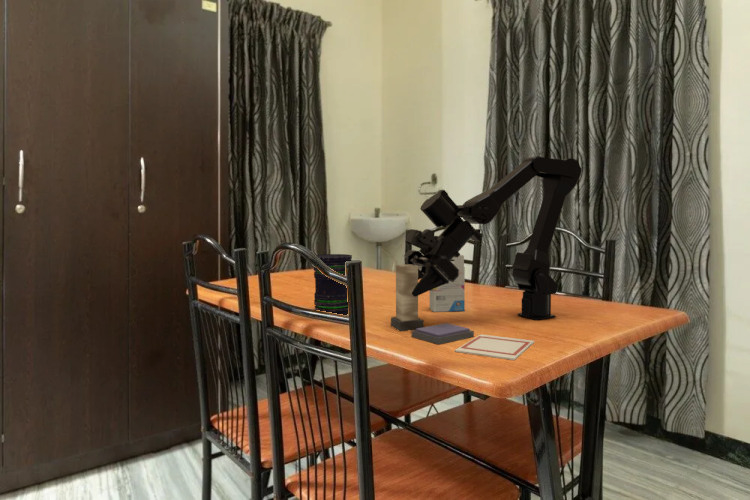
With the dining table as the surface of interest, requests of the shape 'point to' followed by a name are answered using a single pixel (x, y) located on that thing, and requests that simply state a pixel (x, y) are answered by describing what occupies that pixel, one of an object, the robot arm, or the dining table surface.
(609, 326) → the dining table surface
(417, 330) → the ink pad
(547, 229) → the robot arm
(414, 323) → the stamp
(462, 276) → the ink box
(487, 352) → the paper
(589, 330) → the dining table surface
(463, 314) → the dining table surface
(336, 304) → the storage jar
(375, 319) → the dining table surface
